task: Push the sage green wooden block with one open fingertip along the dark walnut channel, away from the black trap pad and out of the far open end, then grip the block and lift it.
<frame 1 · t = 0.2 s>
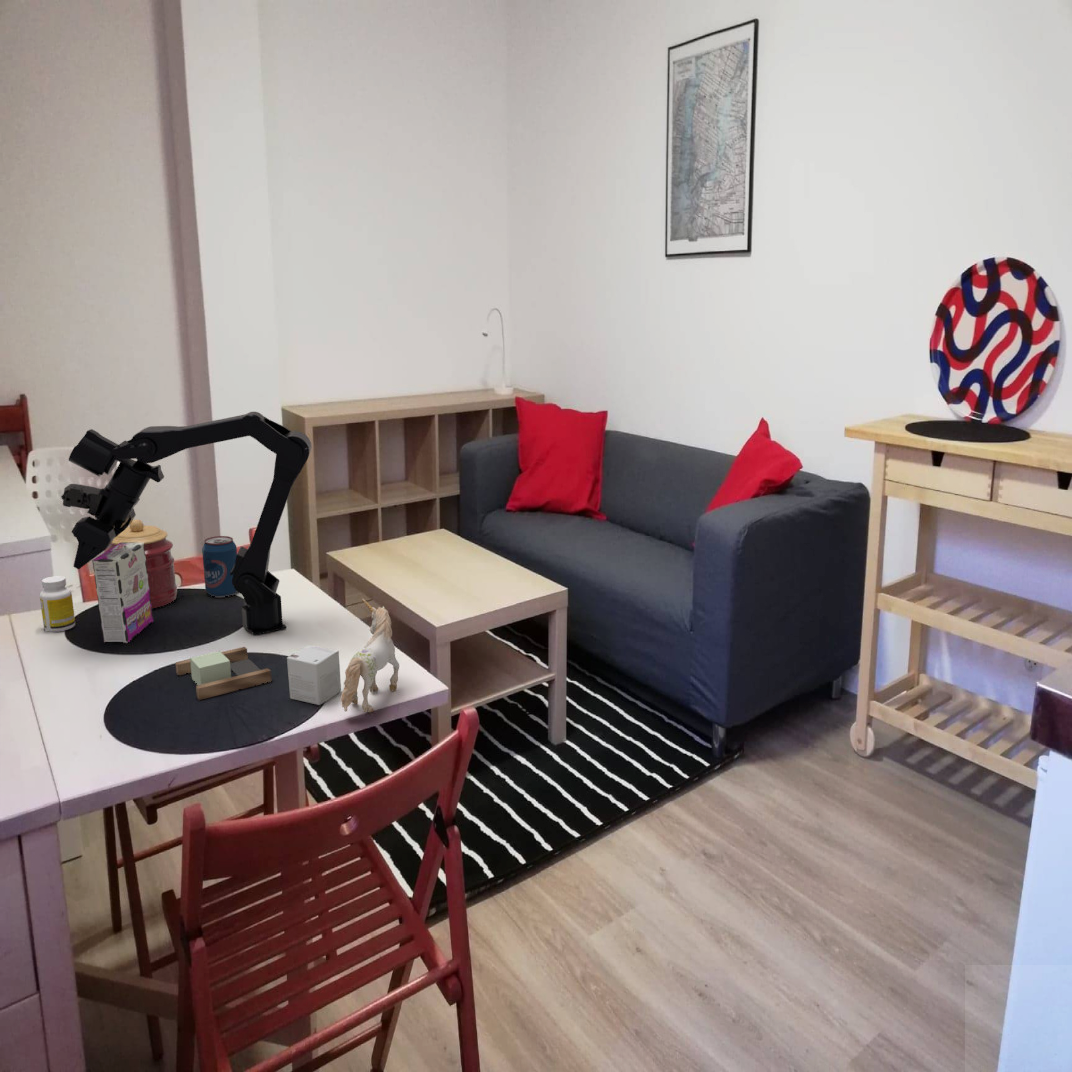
hand: (84, 560, 164), 15 cm above the table, tool tilted 30°, fingers open, 9 cm apart
canister: (144, 602, 186), on the table
supplement bottle: (60, 628, 171), on the table
skincare box: (315, 696, 146), on the table
candy bar box: (128, 633, 170), on the table
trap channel: (223, 677, 151), on the table
unicorn figurine: (359, 695, 146), on the table
soda can: (223, 593, 192), on the table
sage block: (211, 681, 150), on the table
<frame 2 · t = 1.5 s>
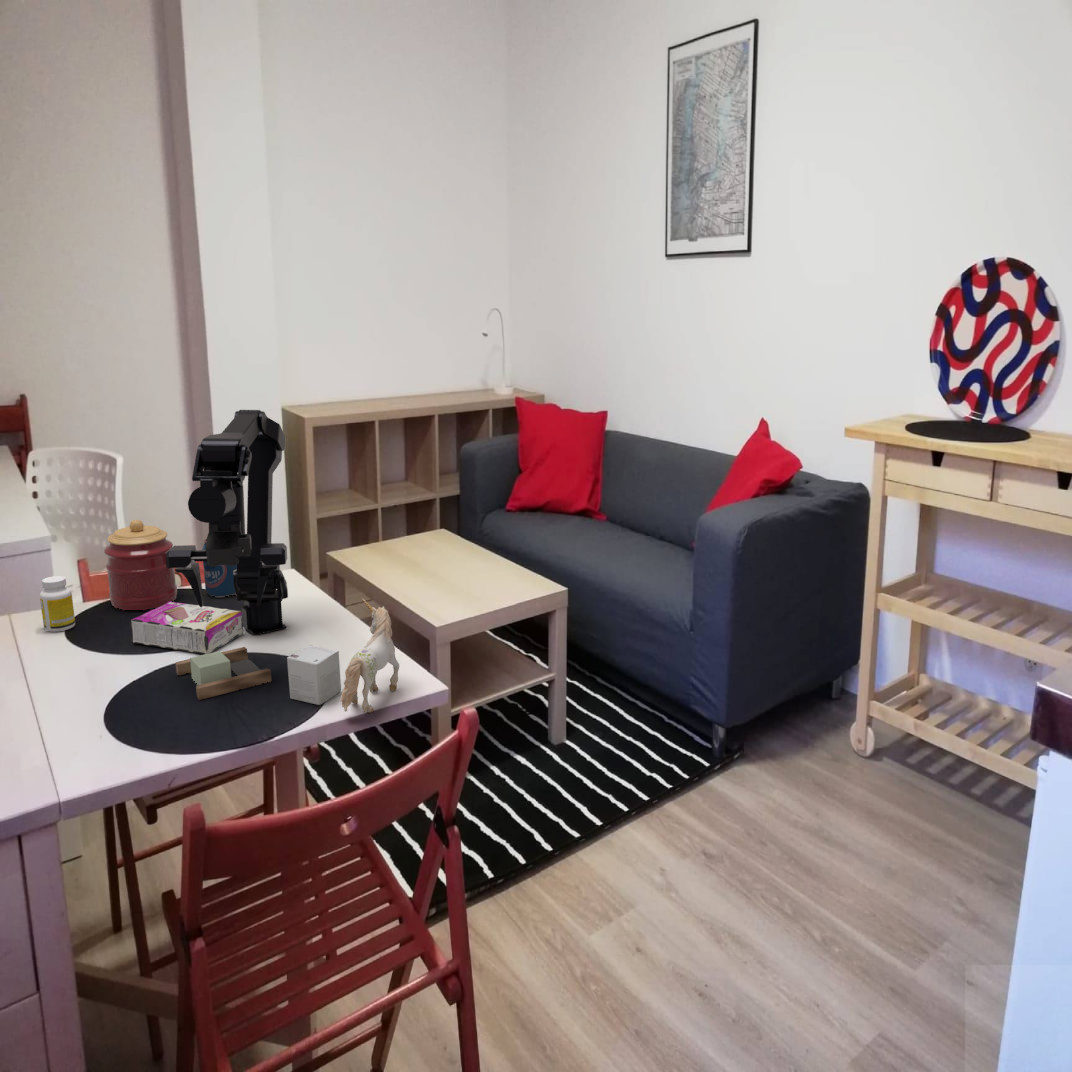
hand: (230, 605, 150), 12 cm above the table, tool pointing down, fingers open, 9 cm apart
candy bar box: (150, 620, 169), point 3 cm above the table
everything else where it was.
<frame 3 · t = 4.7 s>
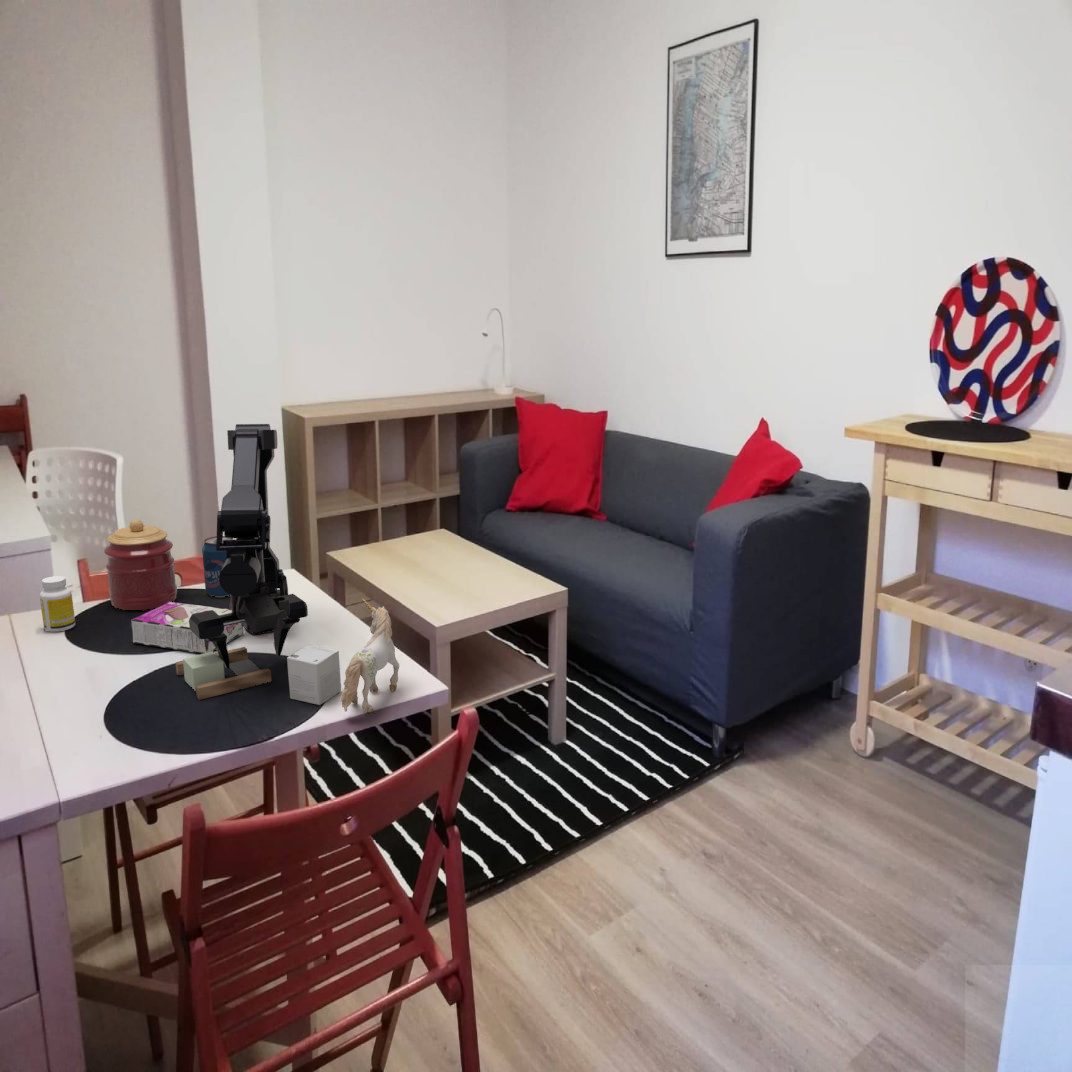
hand: (253, 661, 154), 2 cm above the table, tool pointing down, fingers open, 9 cm apart
sage block: (204, 681, 150), on the table, touching gripper
everything else where it was.
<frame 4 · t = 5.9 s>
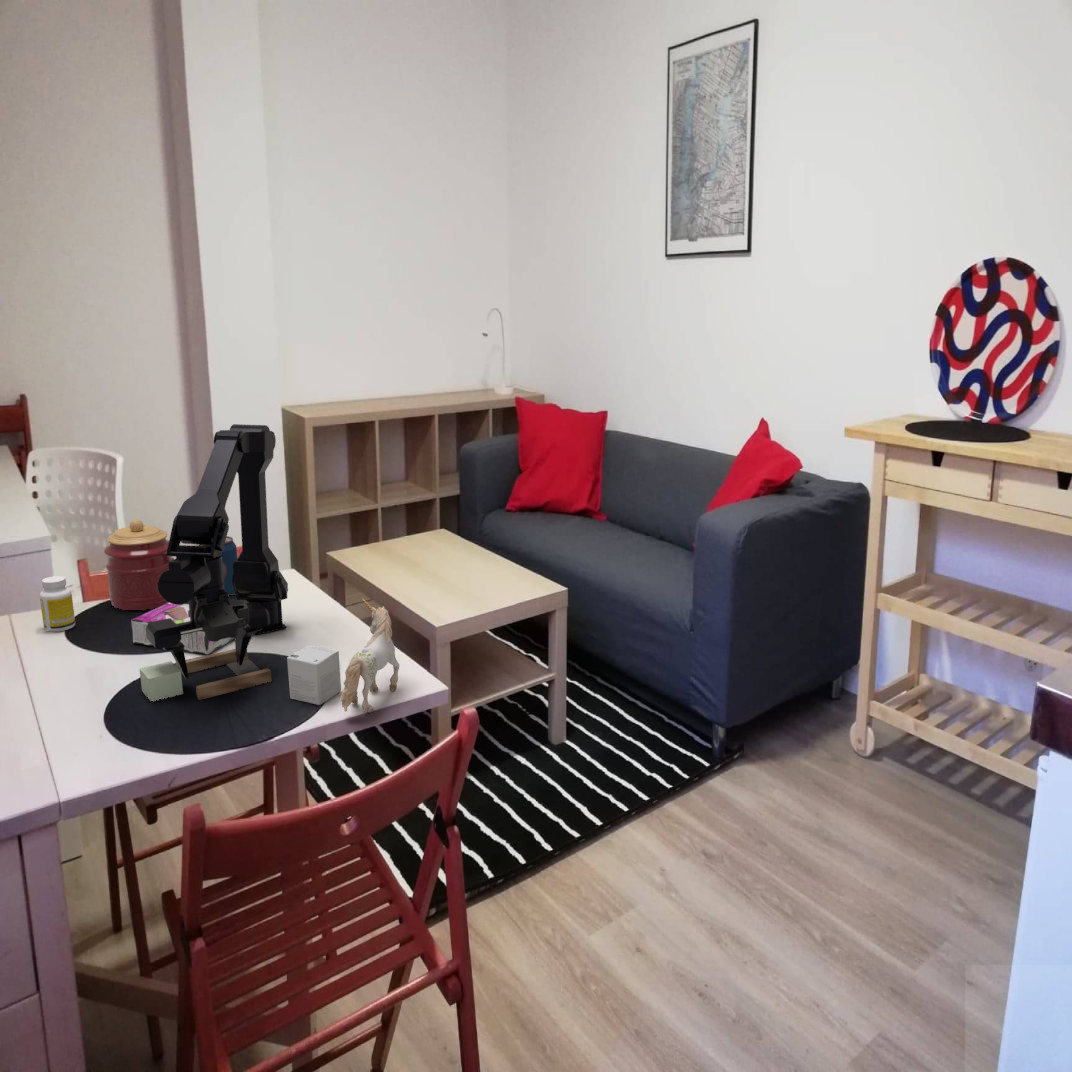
hand: (213, 671, 150), 2 cm above the table, tool pointing down, fingers open, 9 cm apart
sage block: (162, 692, 145), on the table, touching gripper
everything else where it was.
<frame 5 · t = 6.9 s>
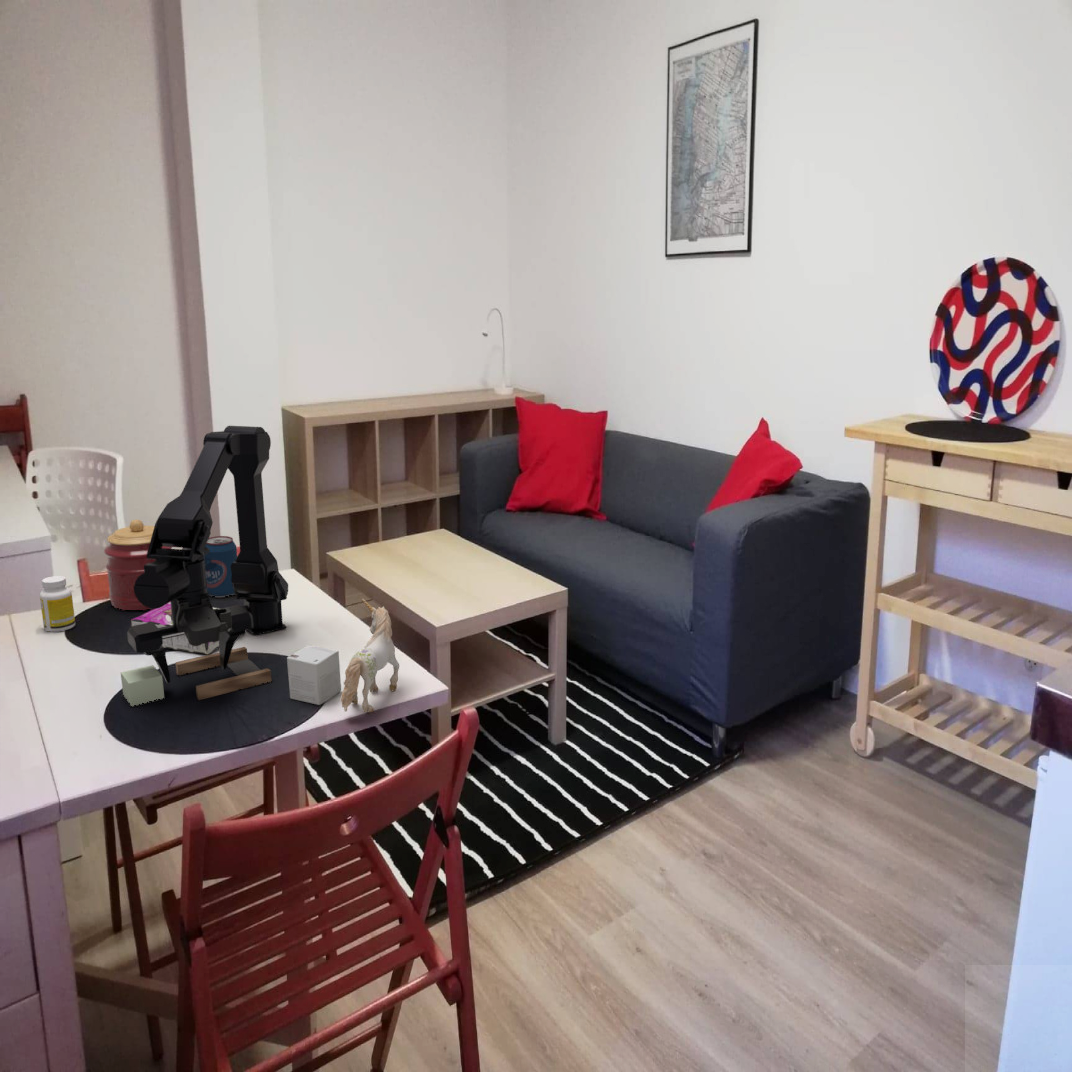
hand: (196, 675, 148), 2 cm above the table, tool pointing down, fingers open, 9 cm apart
sage block: (143, 696, 144), on the table, touching gripper
everything else where it was.
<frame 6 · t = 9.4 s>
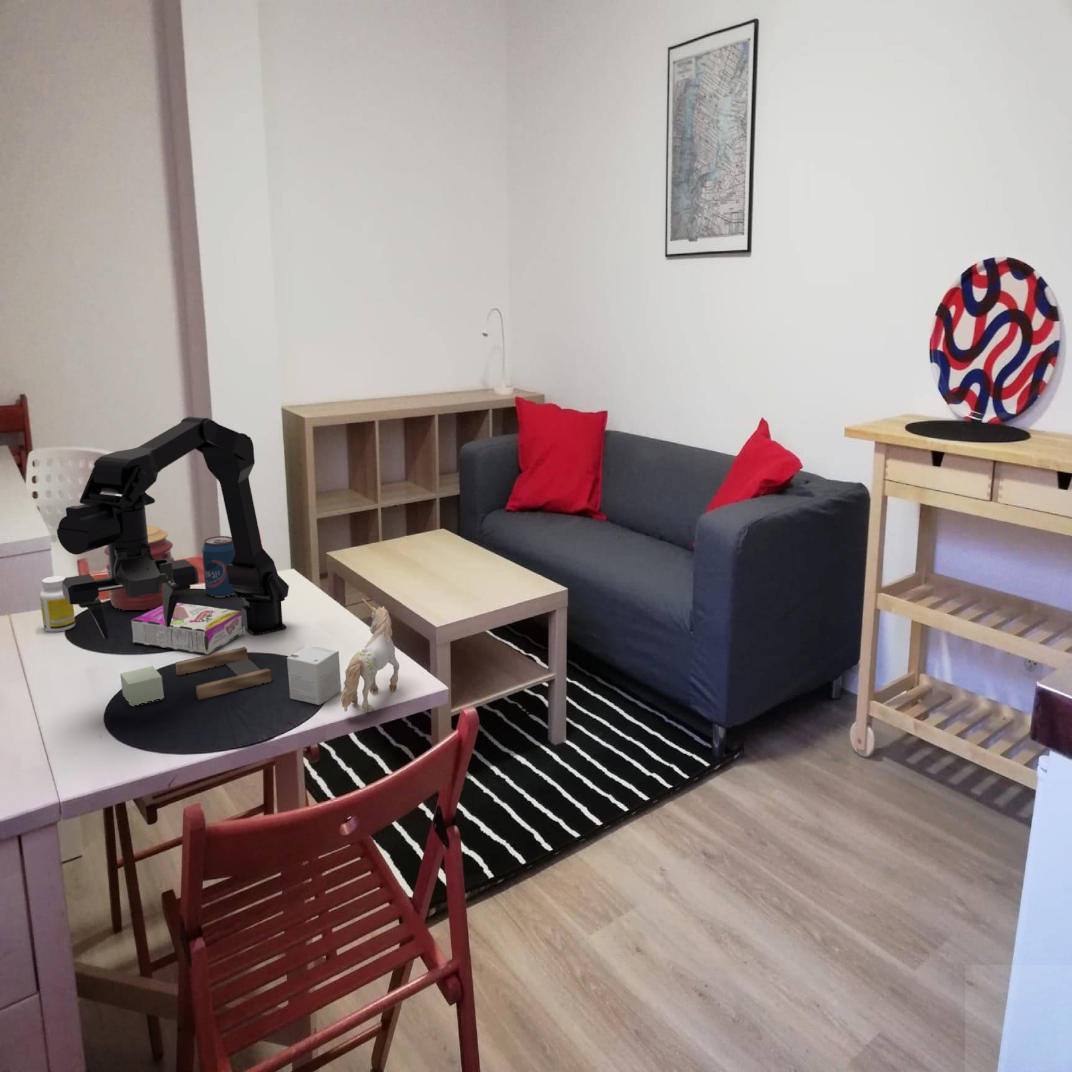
hand: (137, 632, 141), 11 cm above the table, tool pointing down, fingers open, 9 cm apart
sage block: (143, 697, 144), on the table
everything else where it was.
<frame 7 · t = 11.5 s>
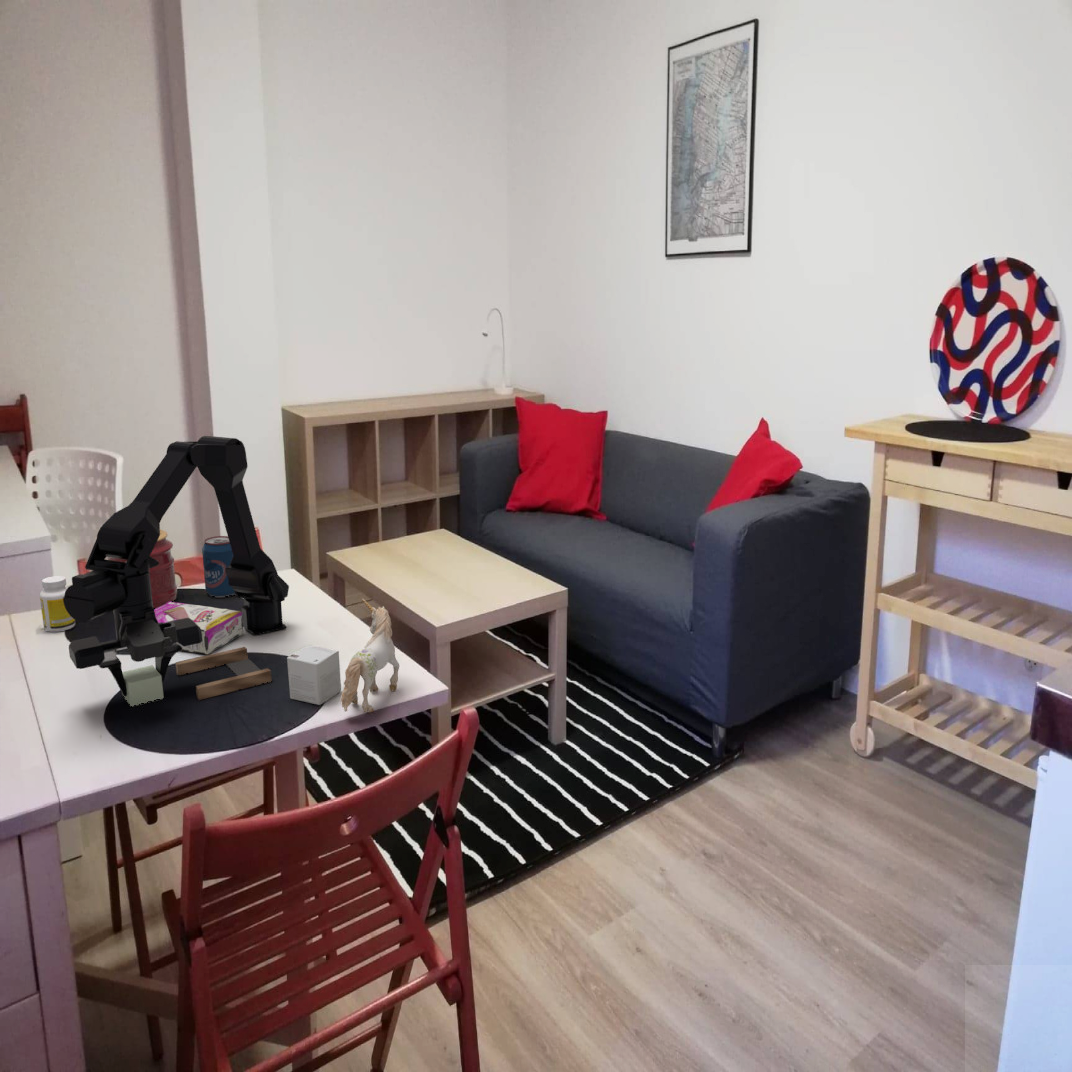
hand: (142, 691, 143), 1 cm above the table, tool pointing down, fingers closed on sage block, 5 cm apart
sage block: (143, 696, 144), on the table, touching gripper
everything else where it was.
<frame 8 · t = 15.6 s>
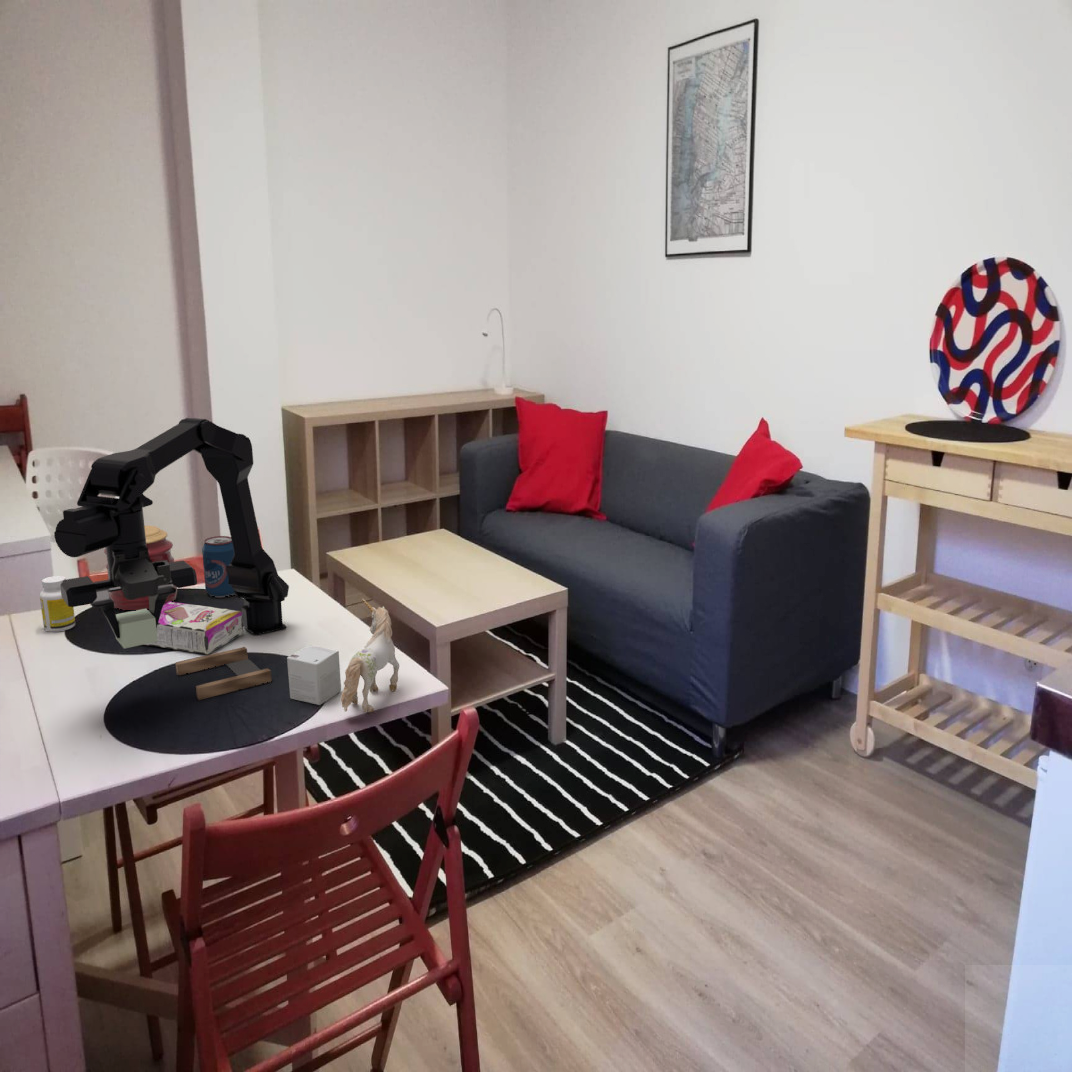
hand: (136, 633, 141), 11 cm above the table, tool pointing down, fingers closed on sage block, 5 cm apart
sage block: (136, 639, 141), point 10 cm above the table, touching gripper
everything else where it was.
at the end: sage block inside the target area (1.5 cm from its centre), point 9.9 cm above the table; the gripper is holding sage block; sage block point 9.9 cm above the table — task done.
